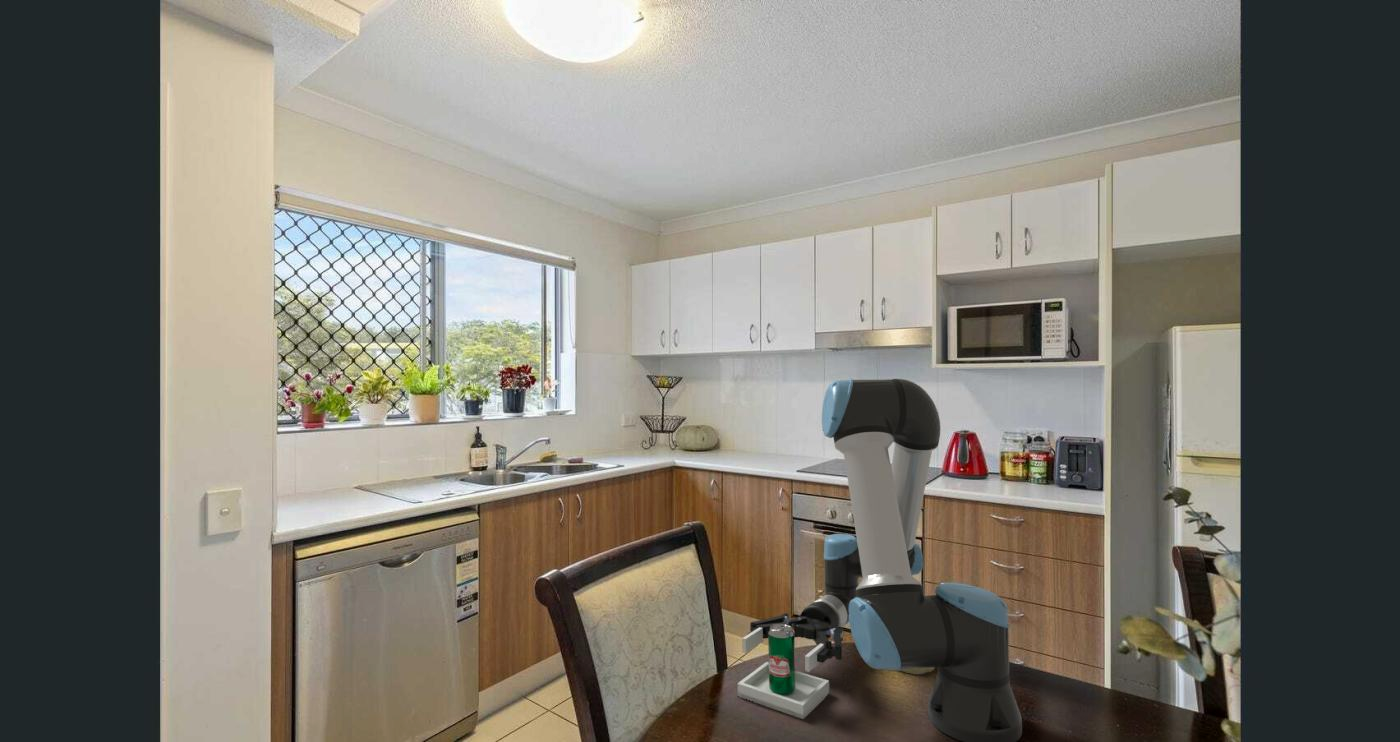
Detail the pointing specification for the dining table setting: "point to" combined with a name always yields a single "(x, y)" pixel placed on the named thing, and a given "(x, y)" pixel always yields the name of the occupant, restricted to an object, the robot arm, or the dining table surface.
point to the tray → (794, 704)
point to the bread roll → (917, 670)
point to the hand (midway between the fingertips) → (774, 654)
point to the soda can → (781, 659)
